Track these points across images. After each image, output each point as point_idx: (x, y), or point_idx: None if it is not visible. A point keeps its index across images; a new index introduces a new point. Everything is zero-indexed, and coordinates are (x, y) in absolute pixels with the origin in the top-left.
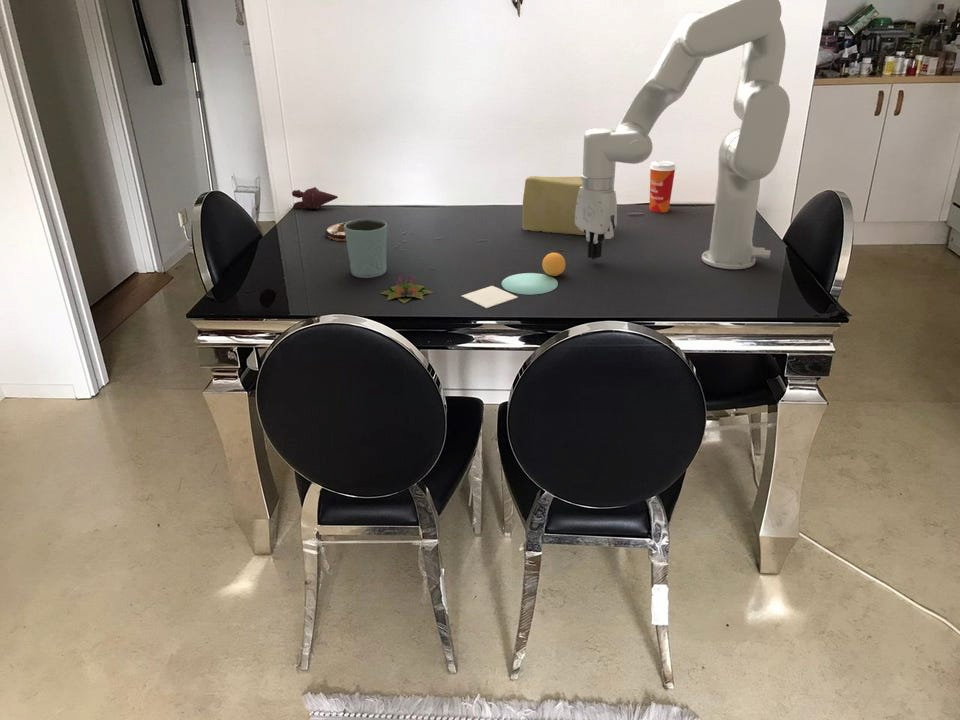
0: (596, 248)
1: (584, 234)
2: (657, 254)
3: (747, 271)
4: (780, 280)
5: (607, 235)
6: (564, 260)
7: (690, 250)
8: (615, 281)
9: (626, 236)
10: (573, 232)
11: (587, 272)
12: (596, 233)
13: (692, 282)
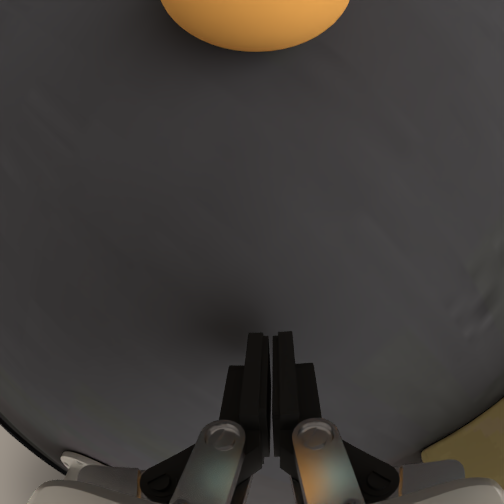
0: (230, 398)
1: (462, 430)
2: None
3: (57, 451)
4: (24, 435)
5: (104, 487)
6: (172, 1)
7: None
8: (31, 238)
9: None
10: (491, 412)
11: (168, 206)
12: (127, 496)
13: (11, 376)
